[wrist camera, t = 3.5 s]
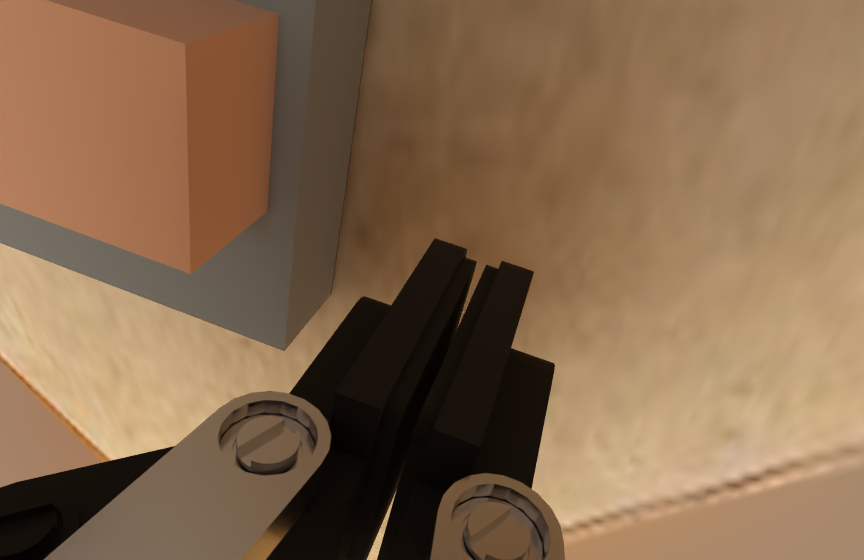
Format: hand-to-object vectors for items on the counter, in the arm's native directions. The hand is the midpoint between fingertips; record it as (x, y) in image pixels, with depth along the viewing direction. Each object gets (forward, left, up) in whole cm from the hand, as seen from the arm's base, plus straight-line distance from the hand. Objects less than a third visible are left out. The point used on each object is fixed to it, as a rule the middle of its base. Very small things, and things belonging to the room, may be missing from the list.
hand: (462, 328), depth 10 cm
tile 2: (+8, -1, -4) cm, 9 cm away
